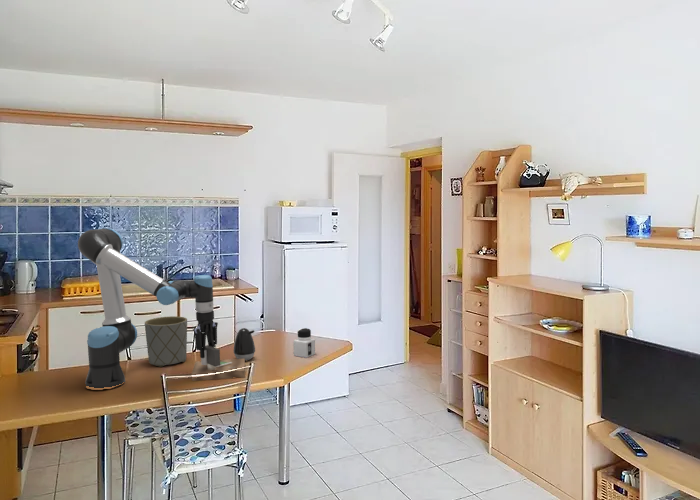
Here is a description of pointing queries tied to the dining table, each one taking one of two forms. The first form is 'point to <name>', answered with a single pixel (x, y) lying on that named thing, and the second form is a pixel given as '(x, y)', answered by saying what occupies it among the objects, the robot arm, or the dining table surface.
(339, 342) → the dining table surface
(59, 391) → the dining table surface
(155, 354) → the planter
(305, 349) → the container
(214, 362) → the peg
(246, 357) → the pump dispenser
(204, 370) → the tuner board
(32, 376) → the dining table surface
